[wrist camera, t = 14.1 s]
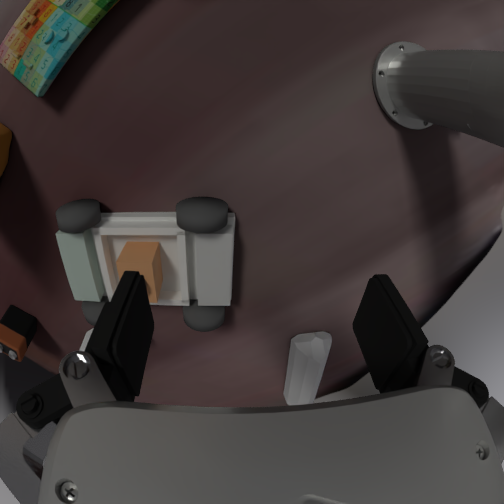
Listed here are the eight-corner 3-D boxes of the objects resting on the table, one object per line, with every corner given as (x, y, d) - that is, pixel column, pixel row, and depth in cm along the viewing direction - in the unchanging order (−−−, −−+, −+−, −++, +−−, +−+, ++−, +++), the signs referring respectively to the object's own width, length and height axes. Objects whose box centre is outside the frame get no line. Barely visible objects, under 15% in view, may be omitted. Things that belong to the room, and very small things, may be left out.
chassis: (235, 197, 35) (238, 216, 30) (230, 303, 44) (232, 331, 39) (62, 200, 32) (41, 218, 27) (86, 298, 41) (74, 323, 36)
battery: (10, 302, 40) (-12, 337, 32) (36, 317, 42) (17, 354, 34) (12, 316, 42) (-8, 350, 33) (37, 330, 44) (19, 366, 36)
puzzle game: (-11, 58, 16) (92, -68, 10) (9, 58, 20) (104, -55, 14) (33, 97, 21) (151, -40, 15) (52, 95, 25) (159, -25, 19)
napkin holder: (85, 341, 47) (77, 363, 42) (72, 297, 41) (61, 320, 37) (157, 352, 50) (154, 377, 45) (154, 309, 44) (148, 334, 39)
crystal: (285, 345, 45) (277, 410, 58) (327, 356, 43) (306, 419, 55) (298, 316, 51) (288, 386, 63) (336, 326, 48) (316, 394, 61)
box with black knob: (126, 241, 35) (113, 266, 30) (159, 241, 36) (150, 267, 31) (132, 278, 38) (122, 306, 33) (162, 279, 39) (156, 308, 34)
